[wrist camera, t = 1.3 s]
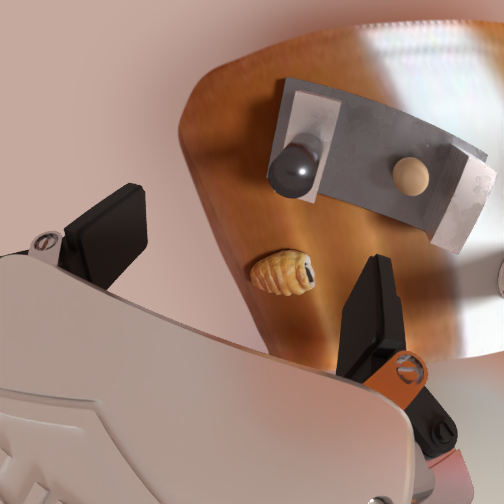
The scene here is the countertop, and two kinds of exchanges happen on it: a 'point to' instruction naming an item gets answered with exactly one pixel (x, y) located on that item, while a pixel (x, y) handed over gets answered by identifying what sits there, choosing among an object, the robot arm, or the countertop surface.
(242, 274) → the countertop surface
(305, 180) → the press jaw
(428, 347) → the countertop surface
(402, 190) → the tan wooden ball
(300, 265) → the pastry
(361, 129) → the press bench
